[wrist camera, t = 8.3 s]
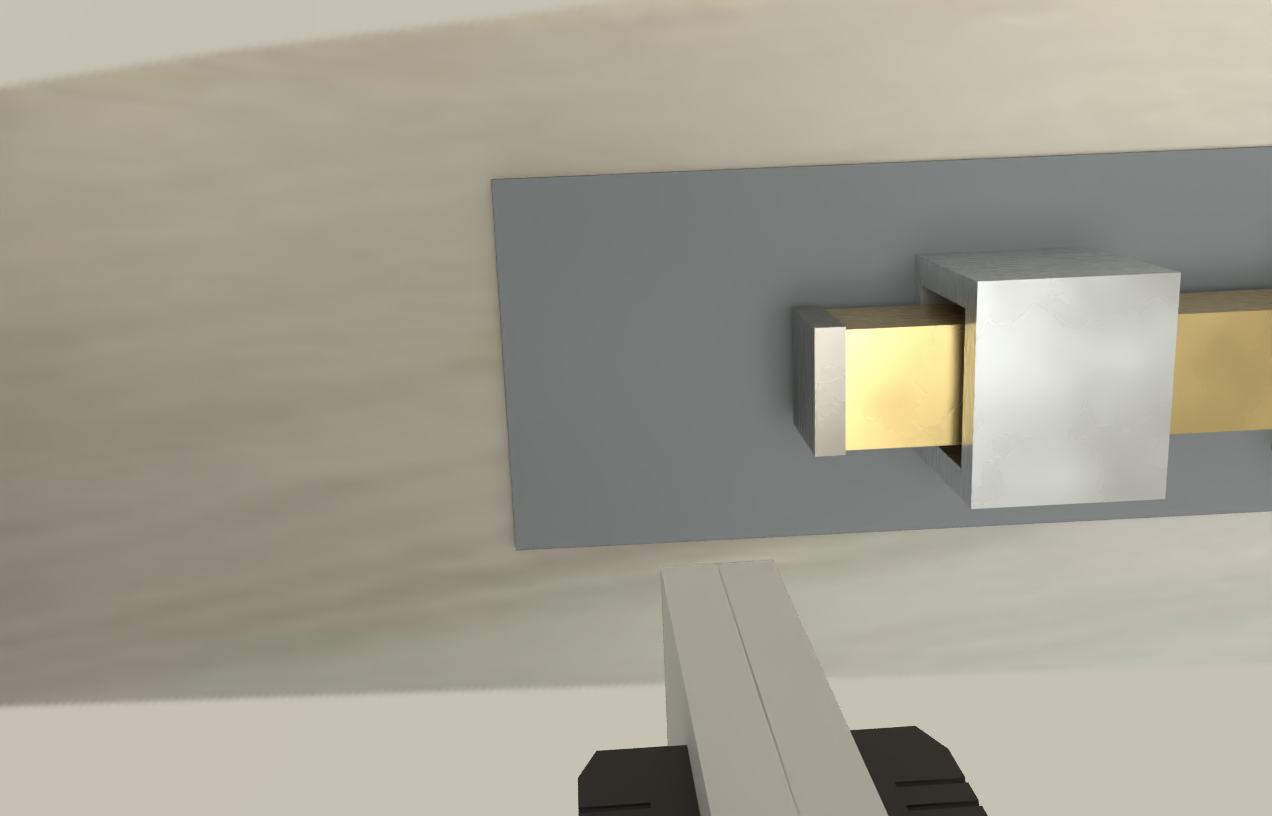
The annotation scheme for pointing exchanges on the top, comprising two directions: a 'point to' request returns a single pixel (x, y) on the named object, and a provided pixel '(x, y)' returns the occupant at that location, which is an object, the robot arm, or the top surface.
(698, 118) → the top surface
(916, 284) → the guide sleeve
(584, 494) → the mat
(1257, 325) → the rod
